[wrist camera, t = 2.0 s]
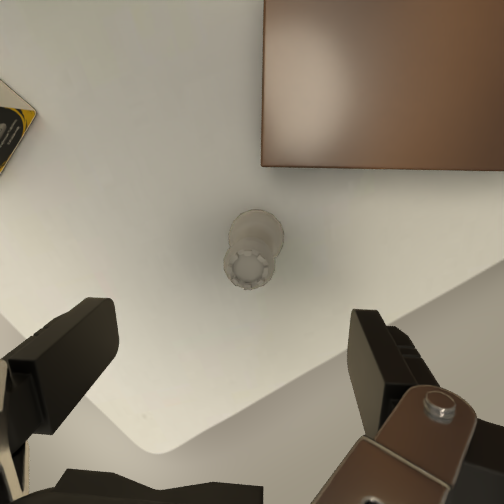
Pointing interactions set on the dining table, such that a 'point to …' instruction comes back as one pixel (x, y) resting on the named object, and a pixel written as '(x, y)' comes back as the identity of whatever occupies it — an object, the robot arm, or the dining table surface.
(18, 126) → the medicine bottle
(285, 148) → the shelf
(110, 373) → the dining table surface
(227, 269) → the rook chess piece
